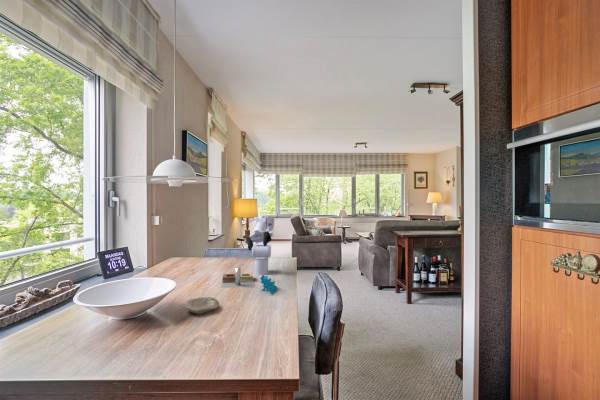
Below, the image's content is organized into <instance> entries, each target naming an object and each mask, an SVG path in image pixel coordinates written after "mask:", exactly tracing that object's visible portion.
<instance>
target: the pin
mask: <svg viewBox="0 0 600 400" xmlns="http://www.w3.org/2000/svg"><path fill="white" fill-rule="evenodd" d="M241 270H242V268H241V267H235V274H236V281H235V285H236V286H239V285H241V273H242V271H241Z"/></svg>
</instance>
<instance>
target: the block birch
mask: <svg viewBox="0 0 600 400" xmlns="http://www.w3.org/2000/svg"><path fill="white" fill-rule="evenodd" d="M253 273H254V272H249V273H248V272H245V273H242V272H241V282H253V277H254V275H253Z"/></svg>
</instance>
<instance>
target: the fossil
mask: <svg viewBox="0 0 600 400" xmlns="http://www.w3.org/2000/svg"><path fill="white" fill-rule="evenodd" d="M219 306H220V302H219V301H218V300H217V298H214V297H209V296H206V297H205V296H204V297H197V298H191V299H189V300H187V301H186V302H185V307H186V310H188V311H189V312H191V313H193V314H198V315H201V314H205V313H207V312H209V311H211V310H217V309H218V308H219Z"/></svg>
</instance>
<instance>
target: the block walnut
mask: <svg viewBox="0 0 600 400" xmlns="http://www.w3.org/2000/svg"><path fill="white" fill-rule="evenodd" d="M235 281H236V273H223V275H222V283H232V282H235Z"/></svg>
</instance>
